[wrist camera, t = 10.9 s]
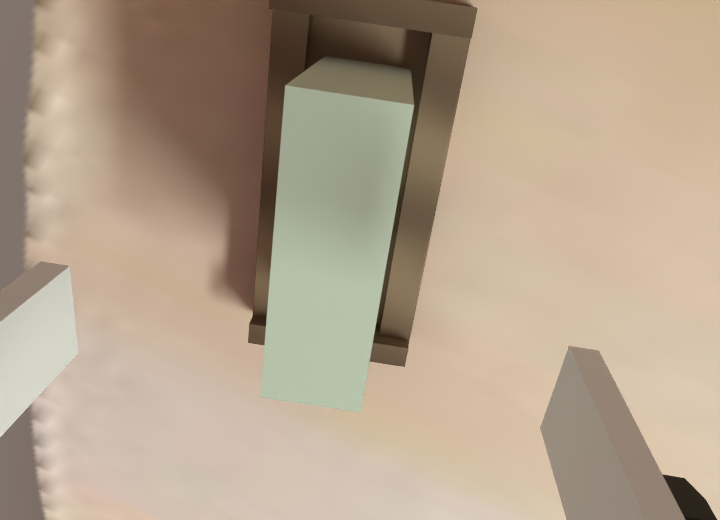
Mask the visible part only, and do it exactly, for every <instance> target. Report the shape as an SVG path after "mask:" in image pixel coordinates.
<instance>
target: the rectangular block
mask: <svg viewBox="0 0 720 520" xmlns="http://www.w3.org/2000/svg"><path fill="white" fill-rule="evenodd" d="M413 109H414V98H413V88H412V77H411V69H408V68H402V67H395V66H389V65H382V64H376V63H369V62H363V61H356V60H350V59H343V58H337V57H330V56H325V57H323V58H322V59H321V60H319V61H318V62H316V63H315V64H314V65H312V66H311V67H310V68H308V69H307V70H306V71H304V72H303V73H301V74H300V75H299V76H297V77H296V78H295V79H293V80H292V81H290V82H289V83H288V84H286V85H285V95H284V107H283V120H282V132H281V145H280V157H279V170H278V182H277V195H276V207H275V220H274V232H273V245H272V257H271V270H270V282H269V295H268V307H267V320H266V332H265V345H264V357H263V370H262V382H261V395H260V397H262V398H269V399H275V400H281V401H288V402H294V403H300V404H307V405H313V406H320V407H326V408H332V409H339V410H345V411H352V412H358V413H361V407H362V402H363V396H364V390H365V384H366V379H367V373H368V367H369V361H370V356H371V350H372V344H373V338H374V333H375V327H376V321H377V316H378V310H379V304H380V298H381V293H382V287H383V281H384V275H385V270H386V264H387V258H388V252H389V247H390V241H391V235H392V230H393V224H394V218H395V212H396V207H397V201H398V195H399V189H400V184H401V178H402V172H403V167H404V161H405V155H406V149H407V144H408V138H409V132H410V126H411V121H412V115H413Z"/></svg>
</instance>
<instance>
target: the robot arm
mask: <svg viewBox="0 0 720 520" xmlns="http://www.w3.org/2000/svg"><path fill="white" fill-rule="evenodd" d="M77 353H78V347H77V337H76V327H75V316H74V306H73V296H72V286H71V275H70V266H66V265H59V264H53V263H47V262H40V263H38V264H37V265H36V266H34V267H33V268H31V269H30V270H29V271H27V272H26V273H25V274H23V275H22V276H20V277H19V278H18V279H16V280H15V281H14V282H13V283H11V284H10V285H8V286H7V287H6V288H4V289H3V290H1V291H0V437H1V436H2V435H3V434H4V432H5V431H6V430H7V429H8V428H9V427H10V426H11V425H12V424H13V423H14V422H15V421H16V419H17V418H18V417H19V416H20V415H21V414H22V413H23V412H24V411H25V410H26V409H27V408H28V406H29V405H30V404H31V403H32V402H33V401H34V400H35V399H36V398H37V397H38V396H39V395H40V393H41V392H42V391H43V390H44V389H45V388H46V387H47V386H48V385H49V384H50V383H51V382H52V380H53V379H54V378H55V377H56V376H57V375H58V374H59V373H60V372H61V371H62V370H63V369H64V367H65V366H66V365H67V364H68V363H69V362H70V361H71V360H72V359H73V358H74V357H75V356H76V354H77ZM540 429H541V432H542V436H543V439H544V443H545V446H546V450H547V453H548V456H549V460H550V463H551V467H552V470H553V474H554V477H555V481H556V484H557V488H558V491H559V495H560V498H561V501H562V505H563V508H564V512H565V515H566V519H567V520H717V519H716V517H715V515H714V513H713V512H712V510H711V508H710V506H709V505H708V503H707V501H706V499H705V498H704V497H703V496H702V495H701V494H700V493H699V492H698V491H697V490H696V489H695V488H694V487H693V486H692V485H691V484H690V483H689V482H688V481H687V480H686V479H685V478H680V477H674V476H668V475H662V473H661V471H660V469H659V467H658V465H657V463H656V461H655V459H654V457H653V455H652V454H651V452H650V450H649V448H648V446H647V444H646V442H645V440H644V438H643V436H642V434H641V432H640V430H639V428H638V426H637V424H636V422H635V420H634V418H633V416H632V414H631V413H630V411H629V409H628V407H627V405H626V403H625V401H624V399H623V397H622V395H621V393H620V391H619V389H618V387H617V385H616V383H615V381H614V379H613V377H612V375H611V374H610V372H609V370H608V368H607V366H606V364H605V362H604V360H603V358H602V356H601V354H600V352H599V351H598V350H591V349H585V348H579V347H573V346H569V348H568V351H567V353H566V356H565V359H564V362H563V365H562V368H561V371H560V373H559V376H558V379H557V382H556V385H555V388H554V390H553V393H552V396H551V399H550V402H549V405H548V407H547V410H546V413H545V416H544V419H543V422H542V425H541V427H540Z"/></svg>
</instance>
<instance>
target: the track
mask: <svg viewBox="0 0 720 520" xmlns="http://www.w3.org/2000/svg"><path fill="white" fill-rule="evenodd" d="M269 9H273V14H272V30H271V45H270V61H269V76H268V91H267V107H266V122H265V138H264V153H263V168H262V184H261V199H260V215H259V230H258V246H257V261H256V276H255V292H254V307H253V317H252V319H251V321H250V324H249V337H248V343H253V344H260V345H265V332H266V320H267V307H268V295H269V282H270V270H271V257H272V245H273V232H274V220H275V207H276V195H277V182H278V170H279V157H280V145H281V132H282V120H283V107H284V95H285V85H286V84H288V83H289V82H290V81H292V80H293V79H295V78H296V77H297V76H299V75H300V74H301V73H303V72H304V71H306V70H307V69H308V68H310V67H311V66H312V65H314V64H315V63H316V62H318V61H319V60H321V59H322V58H323V57H325V56H330V57H337V58H343V59H350V60H356V61H363V62H369V63H376V64H382V65H389V66H395V67H402V68H408V69H411V77H412V88H413V98H414V109H413V115H412V121H411V126H410V132H409V138H408V144H407V149H406V155H405V161H404V167H403V172H402V178H401V184H400V189H399V195H398V201H397V207H396V212H395V218H394V224H393V230H392V235H391V241H390V247H389V252H388V258H387V264H386V270H385V275H384V281H383V287H382V293H381V298H380V304H379V310H378V316H377V321H376V327H375V333H374V338H373V344H372V350H371V356H370V362H377V363H383V364H390V365H396V366H403V367H405V362H406V357H407V352H408V344H409V340H410V335H411V330H412V325H413V320H414V315H415V310H416V305H417V300H418V295H419V290H420V285H421V280H422V275H423V270H424V266H425V261H426V256H427V251H428V246H429V241H430V236H431V231H432V226H433V221H434V216H435V211H436V206H437V201H438V196H439V192H440V187H441V182H442V177H443V172H444V167H445V162H446V157H447V152H448V147H449V142H450V137H451V132H452V127H453V122H454V117H455V113H456V108H457V103H458V98H459V93H460V88H461V83H462V78H463V73H464V68H465V63H466V58H467V53H468V48H469V43H470V39H471V37H472V33H473V28H474V23H475V18H476V13H477V8H476V7H469V6H462V5H455V4H449V3H442V2H435V1H429V0H269Z"/></svg>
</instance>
